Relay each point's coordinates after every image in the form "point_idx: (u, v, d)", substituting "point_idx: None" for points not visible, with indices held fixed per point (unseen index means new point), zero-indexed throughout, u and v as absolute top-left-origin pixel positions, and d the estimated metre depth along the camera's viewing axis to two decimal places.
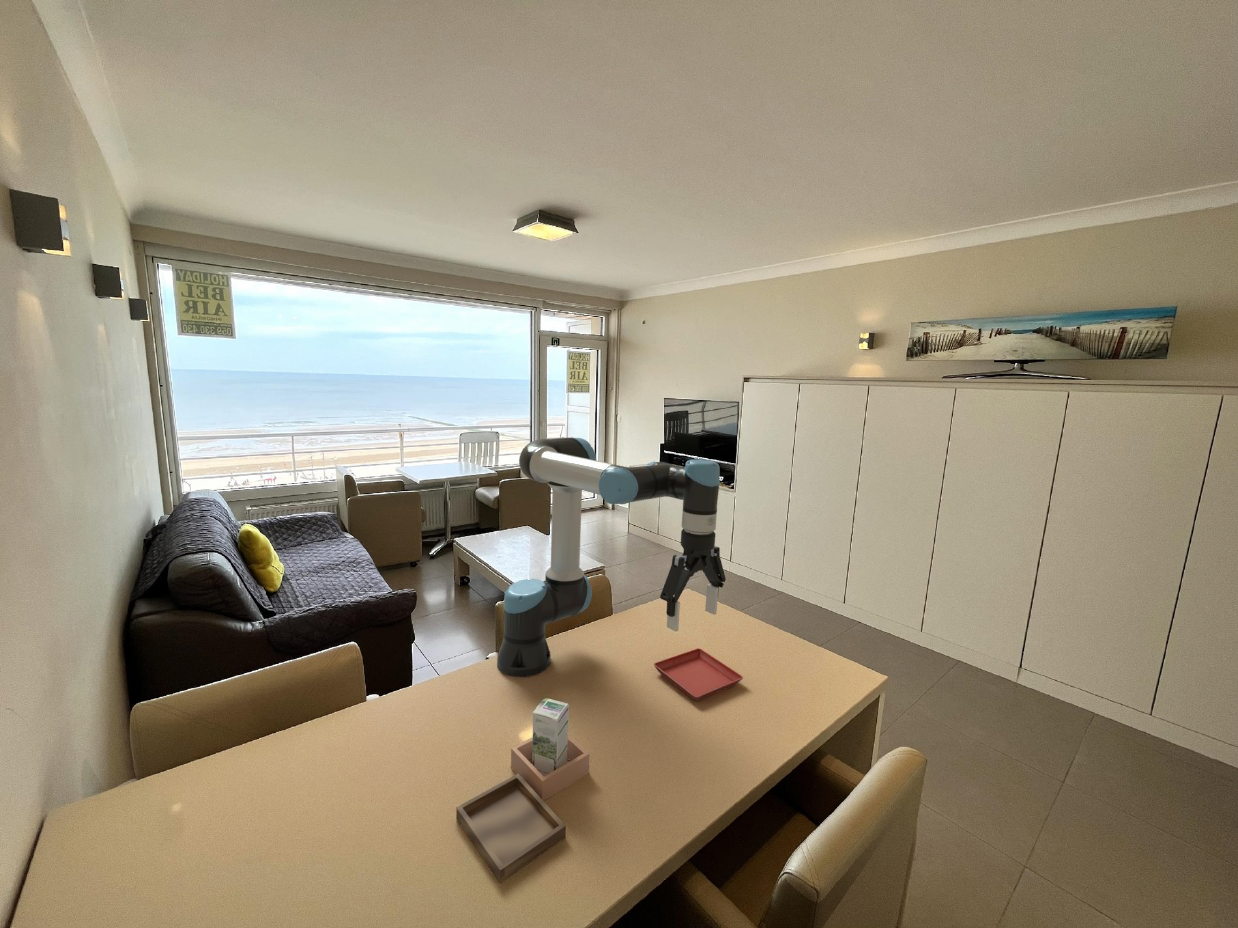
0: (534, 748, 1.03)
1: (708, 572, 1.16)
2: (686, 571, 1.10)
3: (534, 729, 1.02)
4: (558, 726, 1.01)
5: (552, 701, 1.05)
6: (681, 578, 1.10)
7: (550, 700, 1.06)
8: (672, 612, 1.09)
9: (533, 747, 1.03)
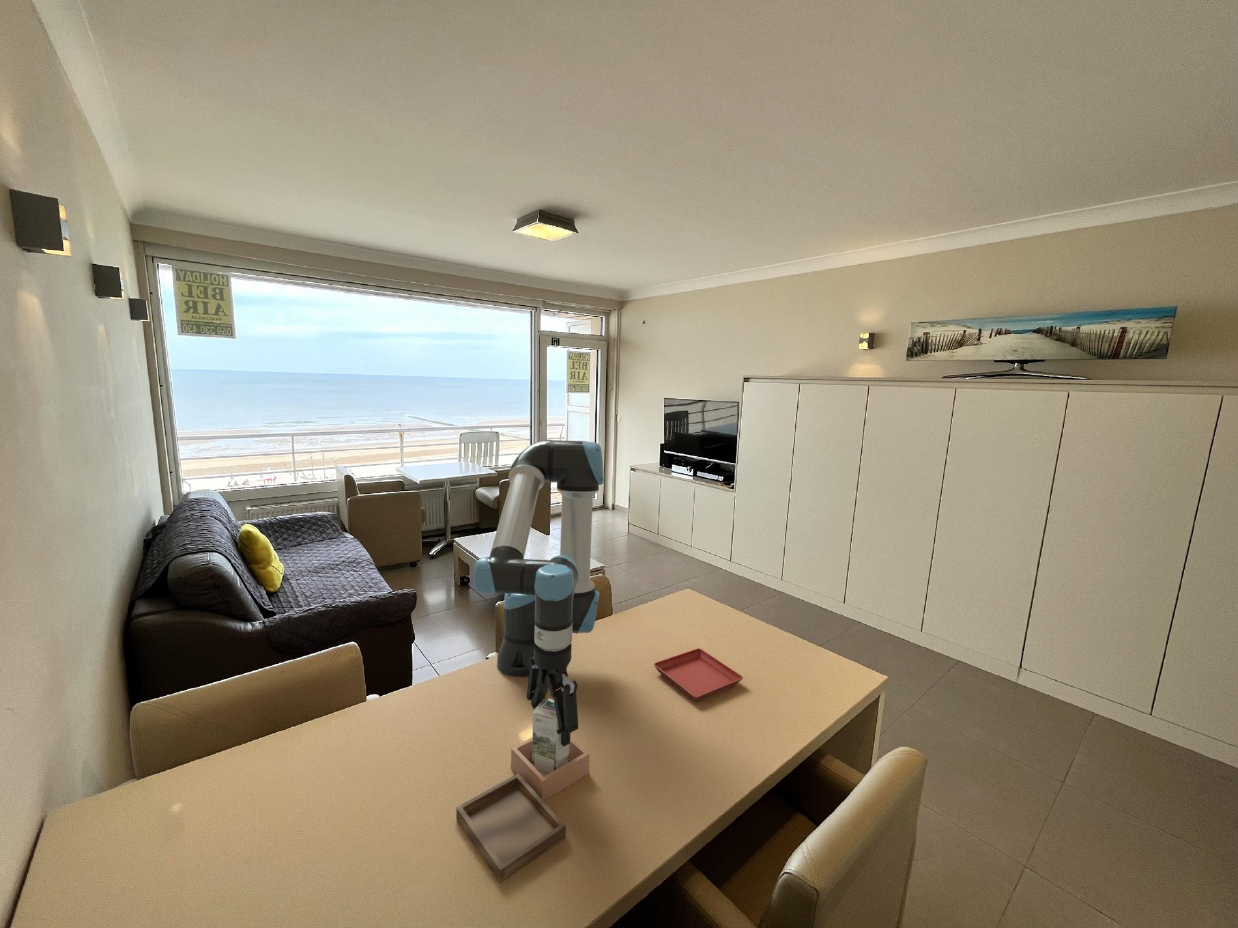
0: (534, 748, 1.03)
1: None
2: None
3: (534, 729, 1.02)
4: (558, 726, 1.01)
5: (552, 701, 1.06)
6: None
7: (550, 700, 1.06)
8: None
9: (533, 747, 1.03)
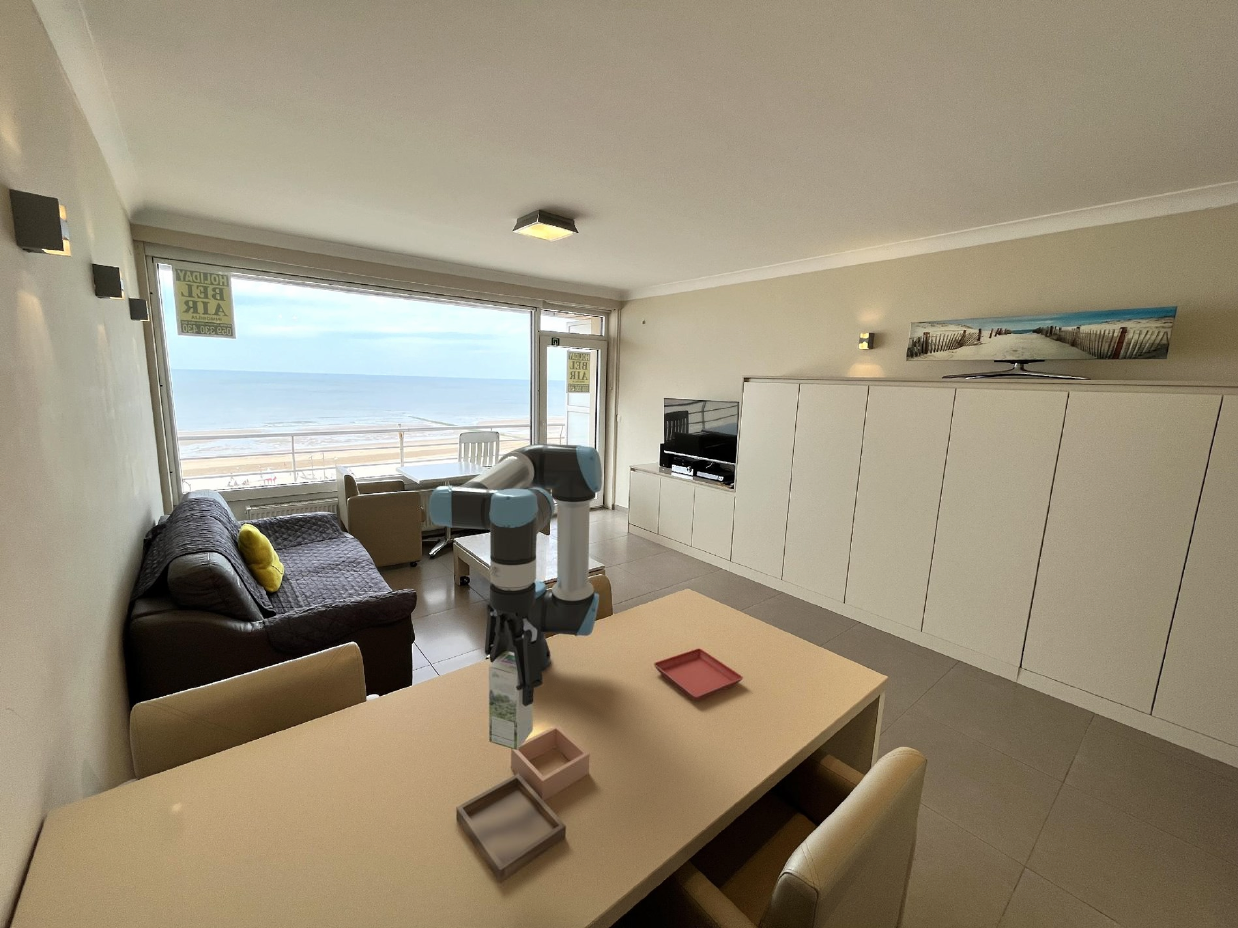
0: (491, 709, 0.86)
1: None
2: None
3: (490, 686, 0.85)
4: (518, 682, 0.84)
5: None
6: None
7: (511, 653, 0.89)
8: None
9: (490, 708, 0.86)
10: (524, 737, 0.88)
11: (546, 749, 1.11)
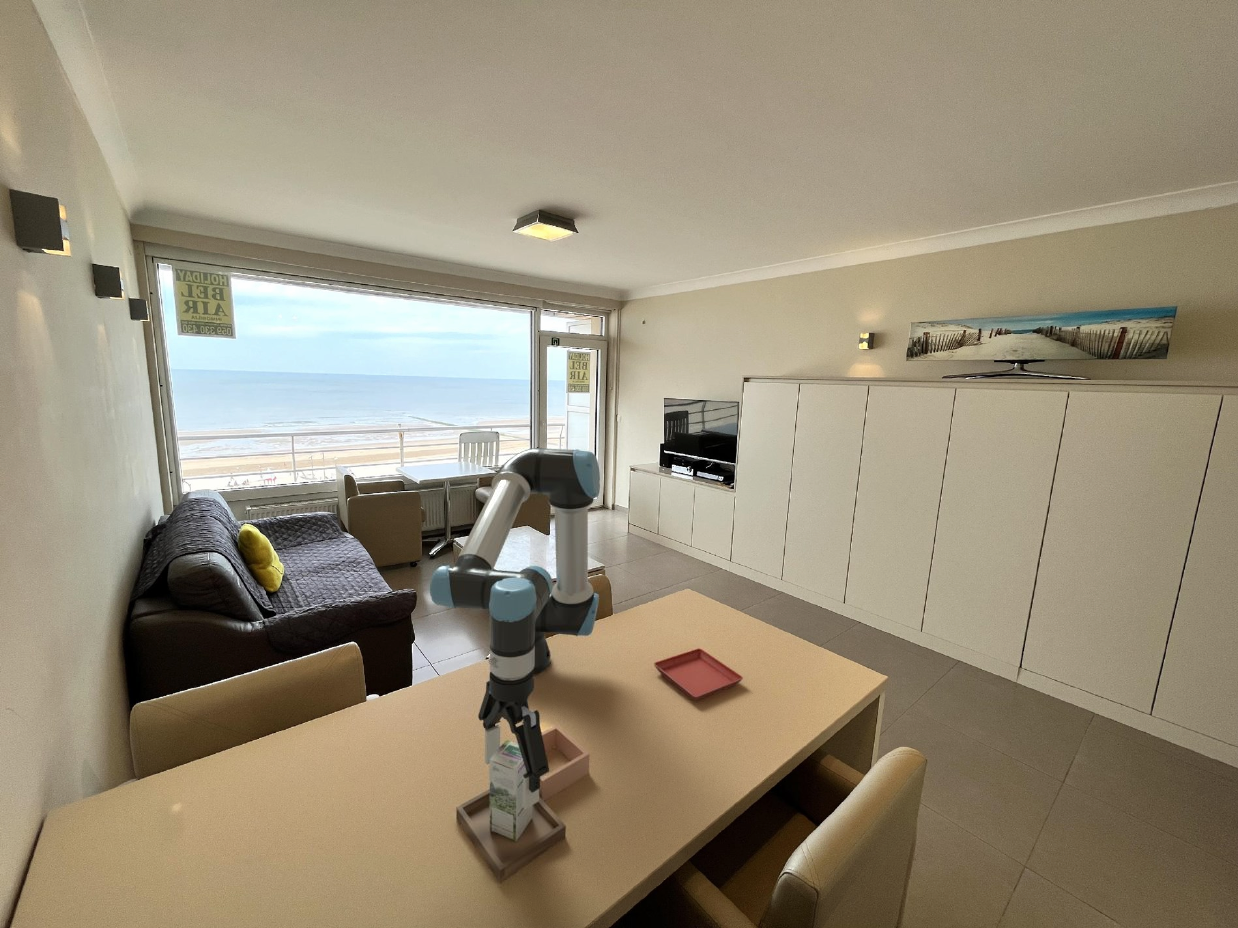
0: (492, 800, 0.89)
1: None
2: None
3: (491, 779, 0.88)
4: (517, 777, 0.86)
5: (515, 745, 0.91)
6: None
7: (512, 743, 0.91)
8: None
9: (490, 799, 0.89)
10: (523, 827, 0.90)
11: (546, 749, 1.11)
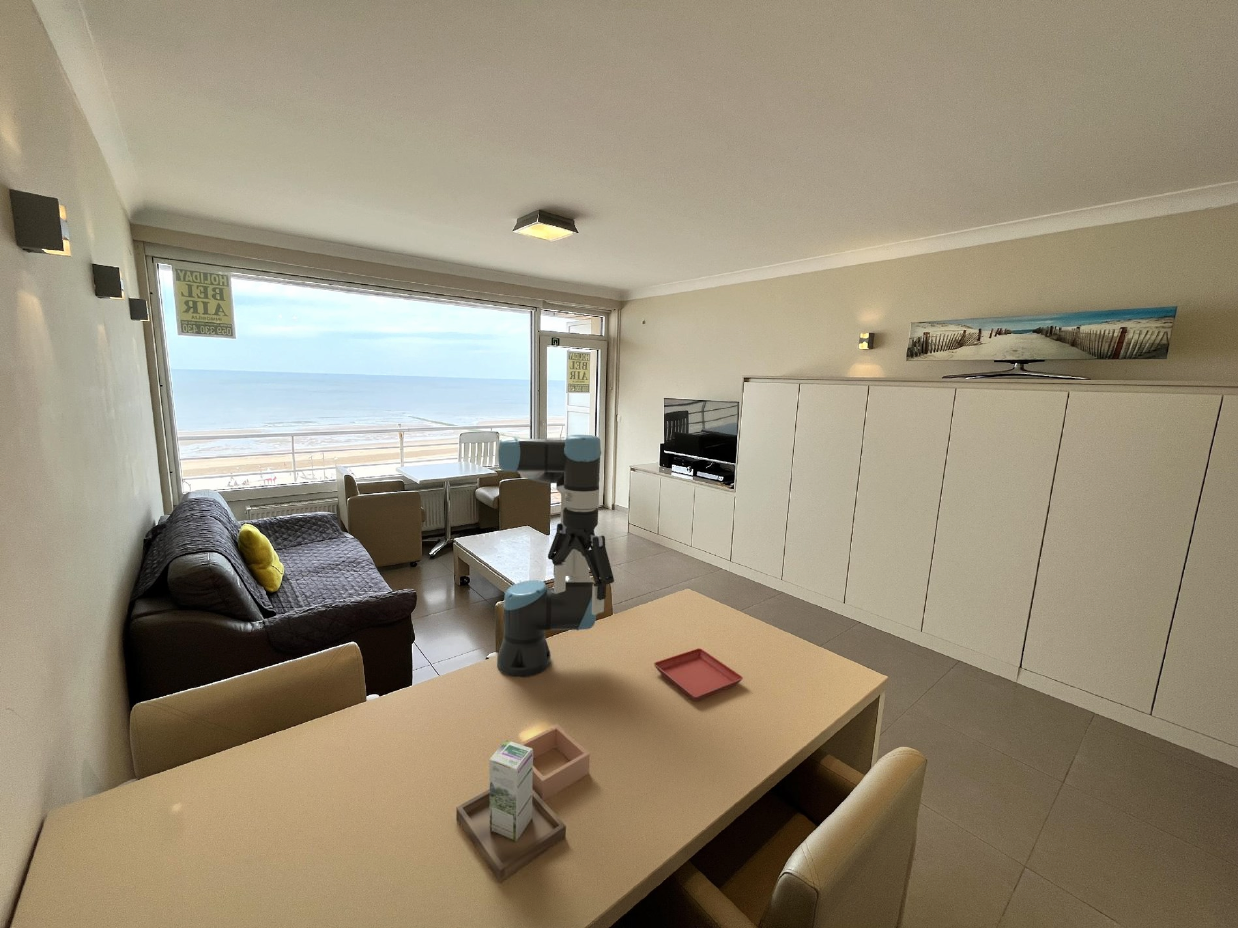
0: (492, 801, 0.89)
1: None
2: None
3: (491, 779, 0.88)
4: (517, 777, 0.86)
5: (515, 745, 0.91)
6: None
7: (512, 743, 0.91)
8: None
9: (490, 799, 0.89)
10: (523, 827, 0.90)
11: (546, 749, 1.11)
